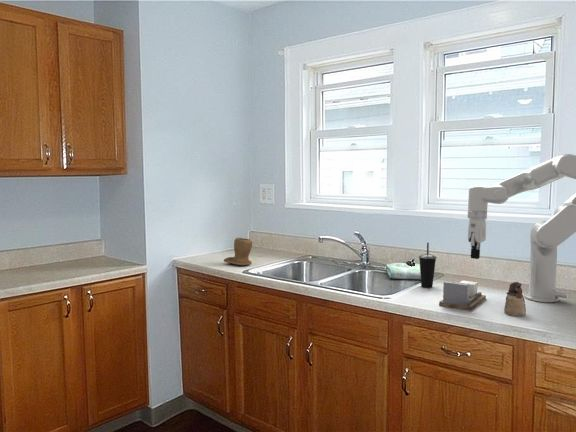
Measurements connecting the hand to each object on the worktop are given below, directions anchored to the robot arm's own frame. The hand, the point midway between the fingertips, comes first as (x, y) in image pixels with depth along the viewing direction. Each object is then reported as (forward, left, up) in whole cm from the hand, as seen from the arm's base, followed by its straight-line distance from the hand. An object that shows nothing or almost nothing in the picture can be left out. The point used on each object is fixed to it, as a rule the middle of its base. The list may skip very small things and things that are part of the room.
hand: (475, 258), depth 204 cm
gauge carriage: (+1, +12, -14) cm, 18 cm away
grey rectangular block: (0, +24, -14) cm, 28 cm away
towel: (+37, -16, -16) cm, 44 cm away
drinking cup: (+21, 0, -16) cm, 26 cm away
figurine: (-20, +20, -16) cm, 32 cm away
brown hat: (+124, +12, -16) cm, 125 cm away
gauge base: (0, +16, -15) cm, 22 cm away
